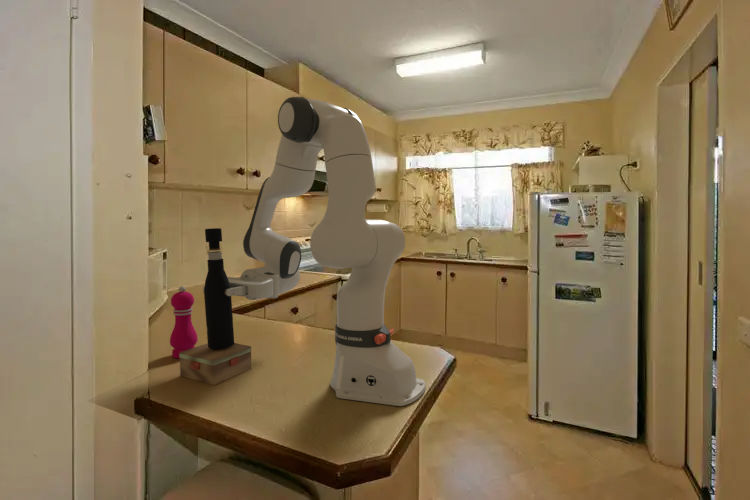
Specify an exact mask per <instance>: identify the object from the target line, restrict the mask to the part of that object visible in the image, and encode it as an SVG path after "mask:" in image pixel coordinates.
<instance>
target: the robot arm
mask: <svg viewBox="0 0 750 500" xmlns="http://www.w3.org/2000/svg"><path fill="white" fill-rule="evenodd" d="M277 113H278V114H277V125H278V129H279V131H280V133H281V136H280V140H279V144H278V148H277V151H276V156H275V161H274V162H275V164H274V167H273V170H272V172H271V175H270V176H268V177H267V178H266V179H264V181H263V183H262V185H261V187H260V191H259V192H258V193H259V194H258V197H257V200H256V202H255V206H254V209H253V214H252V217H251V220H250V224H249V226H248V229H247V230H246V233H245V235H244V237H243V242H242V247H243V251H244V254H245V255H246V256H247V257H249V258H252V259H253V260H256V261H260V262H262V263H264V265H263V266H259V267H253V268H248V269H245V270H244V271H243V272H242V273H241V275H240V277H233V276H227V278H228V280H229V284H230V288H227V289H224V295H225V296H231V297H232V296H236V297H244V298H246V299H247V300H250V301H255V300H262V299H277V298H279V295H281V294H284V293H287V292H289V291H291V290H293V289H294V288H295V287H297V286H298V284H299V283H300V280H301V273H300V270H299V268H300V266H301V261H302V250H301V246H300V244H299V242H297V241H296V240H293V239H292V238H289V237H287V236H285V235H282V234H280V233H278V232H275V231H273V228H272V227H271V225H272V224H271V223H272V220H273V218H274V214H275V211H276V208H277V206H278V203H279V202H280V201H281V200H282V199H291V198H297V197H301V196H303V195H305V194H306V193H308V191H310V190H311V188H312V187H313V184H314V181H315V177H316V171H317V170H316V169H317V163H318V158H319V153H320V152H321V151H322V150H323V154H324V155H323V157H324V165H325V171H326V182H327V189H328V191H327V192H328V194H327V196H328V199H327V207H326V210H325V213H324V216H323V217H322V219H321V221H320V222H319V224H318V225H316V226H315V228H314V229H313V230H312V231H313V232H312V233H311V236H310V242H309V243H310V247H309V248H310V253H311V254H312V257H313V260H315V262H317V264H319V265H320V266H322V267H325V268H326V267H328V268H331V269H340V270H341V269H348V268H349V269H350V268H351V271H350V274H349V277H348V279H347V280H346V282H345V283H344V284H342V286H341V287H339V290H338V291H337V294H336V324H335V325H334V328H335V329H334V339H335V340H334V341H335V346H336V349H335V357H334V358H335V359H334V364H333V365H334V367H333V372H332V375H331V380H330V384H329V385H330V387H331V388H332V389H333V390H334V391H335V396H336V398H337V399H342V400H343V399H345V400H351V401H358V402H365V403H372V404H373V403H374V404H379V405H387V406H395V407H397V406H398V407H404V406H407V405H409V404H411V403H414V402H415V401H417V400H418V399H420V398H421V397H422V395H423V394H424V393H425V391H426V390H427V389H426V388H427V387H426V382H425V380H424V379H422V378H418V377H417V374H416V366H415V364H414V361H413V360H412V358H411V357H410V356H408V355H407V354H406V353H405V352H403V351H402V350H401V349H400V348H399V347H398V346H397V345H395V344H394V342H392V341H391V335H393V334H394V328H391V329H388V327H387V326H386V324H385V319H384V318H385V314H384V313H385V294H386V288H387V285H388V280H389V277H390V274H391V272H392V269H393V267H394V265H395V263H396V262H397V260H398V259H399V258H400V257H401V256H402V254H403V253H404V251H405V247H406V237H405V233H404V231H403V229H402V228H401V227H400V226H399V225H398V224H396V223H394V222H391V221H387V220H384V219H377V218H376V219H375V218H374V219H370V218H369V219H366V216H365V214H366V213H365V211H366V206H367V202H368V201H370V199H371V198H373V196H375V193H376V189H377V186H376V185H377V184H376V178H375V172H374V165H373V160H372V159H373V158H372V152H371V148H370V144H369V140H368V139H369V138H368V136H367V133H366V130H365V127H364V124H363V122H362V121H361V120H360V119H361V118H359V116H358V115H357V114H356V113H355V112H354V111H353V110H351V109H349V108H347V107H341V106H338V105H335V104H333V103H329V102H326V101H325V100H324V101H323V100H319V99H313V98H312V99H311V98H306V97H303V96H291V97H287V98H285V100H284V101H283V102H282V104H281V105H280V107H279V110H278V112H277ZM202 293H203V294H204V286H203V287H202Z"/></svg>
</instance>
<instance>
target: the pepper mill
mask: <svg viewBox="0 0 750 500" xmlns="http://www.w3.org/2000/svg"><path fill="white" fill-rule="evenodd" d="M194 302H195V297H194V295H193V294H192V293H191V292H190V291H186V287H185V286H184V285H183V286H179V288H178V292H176V293H174V294H173V295H172V296H171V299H170V304H171V307H173V309H172V311H173V314H172V315H174V317H175V318H174V327H173V329H172V332H171V334H170V338H169V344H170V346H171V347H172V348H173V349H172V352H171V353H172V355H171V356H172V358H173V357H174V358H173V359H179V360H180V358H179V354H180V352H182V351H185V350H189V349H192V348H195V347H196V346H195V345H197V343H198V334H197V331H196V329H195V327H194V325H193V323H192V313H193V311H194V310H193V307H192V306H193V305H194V304H195V303H194Z"/></svg>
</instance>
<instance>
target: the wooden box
mask: <svg viewBox="0 0 750 500" xmlns="http://www.w3.org/2000/svg"><path fill="white" fill-rule="evenodd" d="M194 347H195V348H192V349H189V350H185V351H182V352H180V354H179V358H180V359H179V358H178V359H179V375H180V377H183V378H187V379H191V380H193V381H198V382H202V383H204V384H209V385H213V386H215V385H218V384H219V383H222V382H224V381H226V380H228V379H232V378H233V377H236V376H238V375H241V374H242V373H245V372H247V371H249V370H250V371H251V369H252V346H251V345H246V344H243V343H242V344H240V343H238V342H237V343H236V342H234V344H233V345H232V346H230V347H227V348H223V349H211V348H209V347H208V342H207V343H205V344H202V345H198V346H194Z"/></svg>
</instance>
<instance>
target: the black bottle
mask: <svg viewBox="0 0 750 500" xmlns="http://www.w3.org/2000/svg"><path fill="white" fill-rule="evenodd" d="M204 233H205V234H204V235H205V236H204V237H205V243H208V253H207V256H208V257H207V258H208V259H207V273H206V277H205V281H204V286H203V287H204V293H203V296H204V298H203V299H204V310H205V311H204V312H205V321H206V325H205V326H206V338H207V343H208V347H209V348H211V349H223V348H227V347H230V346H232V345H233V344H234V343H235V333H234V332H235V331H234V319H233V318H234V317H233V304H232V296H225V295H224V289H227V288H230V284H229V280H228V278H227V277H228V276H227V273H226V270H225V266H224V263H225V262H224V258H223V256H222V254H223V253H222V251H220V250H221V245H220V242H223V233H222V228H221V227H218V228H217V227H215V228H211V227H210V228H205V229H204Z"/></svg>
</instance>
